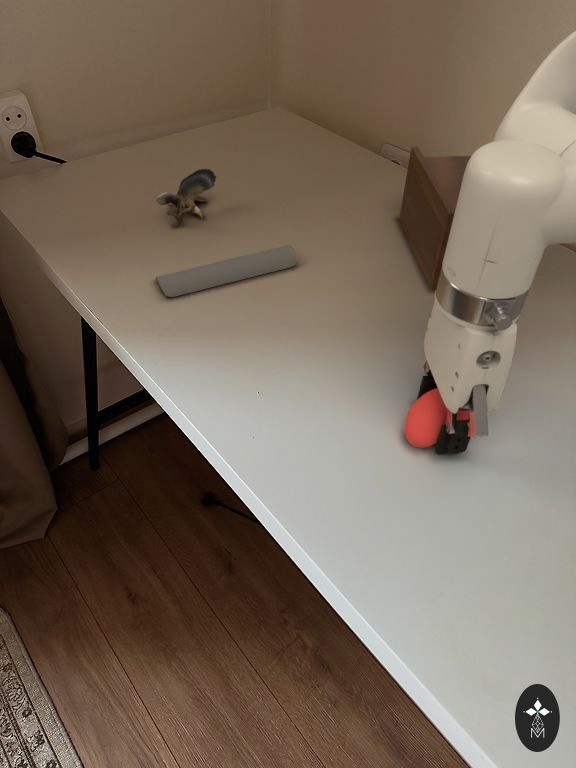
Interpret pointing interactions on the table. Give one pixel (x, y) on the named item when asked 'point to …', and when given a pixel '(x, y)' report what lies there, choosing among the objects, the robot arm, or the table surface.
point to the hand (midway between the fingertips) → (440, 424)
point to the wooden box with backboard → (431, 207)
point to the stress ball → (428, 419)
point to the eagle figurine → (188, 194)
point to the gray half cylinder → (227, 271)
